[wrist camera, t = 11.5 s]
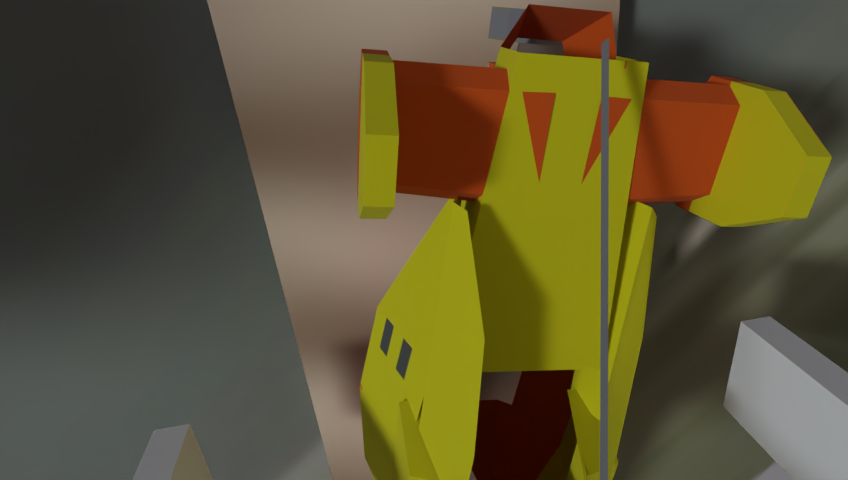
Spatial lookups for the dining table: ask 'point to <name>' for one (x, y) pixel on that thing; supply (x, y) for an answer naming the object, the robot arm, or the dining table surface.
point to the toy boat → (544, 236)
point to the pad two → (343, 171)
